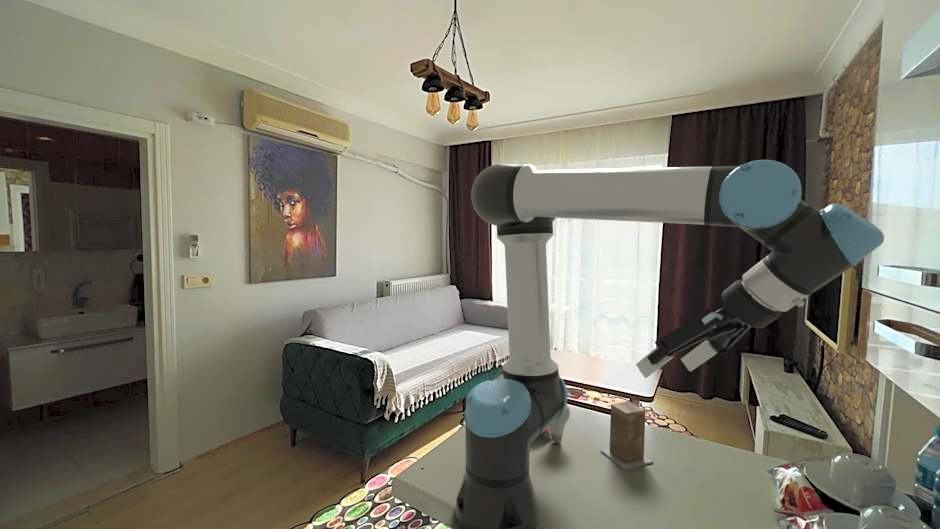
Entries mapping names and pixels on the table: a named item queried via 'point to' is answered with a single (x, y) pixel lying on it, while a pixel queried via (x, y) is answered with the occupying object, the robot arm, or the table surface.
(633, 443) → the brown wooden block
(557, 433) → the lightbulb
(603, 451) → the grey square base plate
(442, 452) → the table surface
